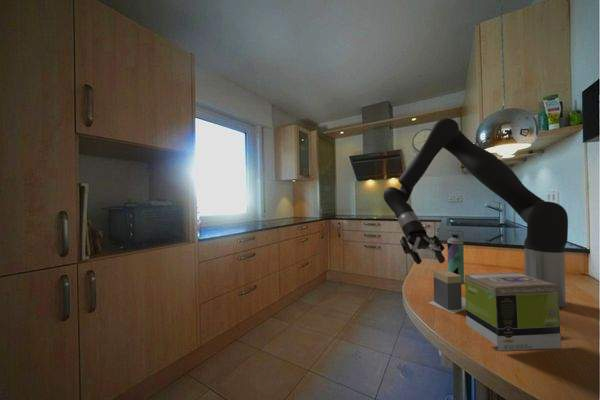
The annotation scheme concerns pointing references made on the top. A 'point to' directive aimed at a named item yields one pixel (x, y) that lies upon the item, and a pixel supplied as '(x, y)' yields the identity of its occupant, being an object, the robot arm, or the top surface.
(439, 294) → the block
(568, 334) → the top surface
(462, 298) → the board
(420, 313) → the top surface
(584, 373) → the top surface
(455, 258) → the spray can
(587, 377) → the top surface
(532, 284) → the tea box
